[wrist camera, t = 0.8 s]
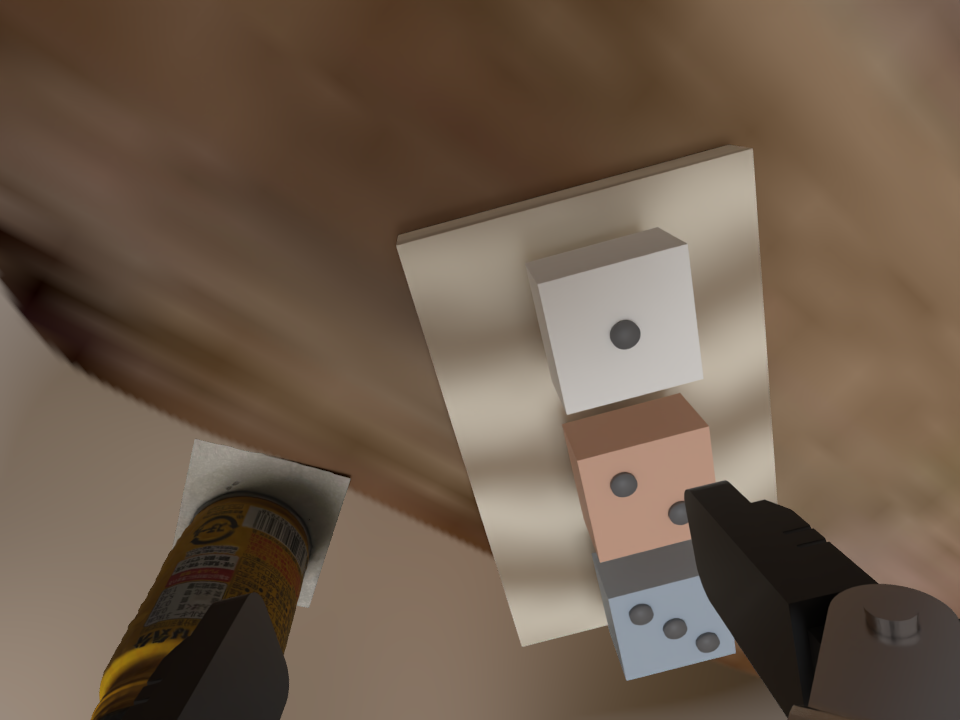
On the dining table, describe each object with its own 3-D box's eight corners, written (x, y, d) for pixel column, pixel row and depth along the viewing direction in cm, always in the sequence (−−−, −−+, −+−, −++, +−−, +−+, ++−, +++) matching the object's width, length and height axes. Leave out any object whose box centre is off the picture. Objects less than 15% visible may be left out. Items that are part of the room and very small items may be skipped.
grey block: (591, 553, 28) (609, 602, 25) (698, 525, 28) (728, 572, 25) (609, 631, 30) (628, 684, 27) (709, 605, 30) (737, 656, 27)
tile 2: (561, 424, 25) (578, 463, 23) (680, 392, 25) (711, 428, 23) (583, 519, 27) (601, 566, 25) (693, 490, 27) (723, 534, 25)
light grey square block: (524, 263, 23) (538, 285, 20) (657, 227, 22) (689, 245, 20) (552, 381, 25) (568, 417, 22) (674, 349, 24) (705, 381, 22)
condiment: (166, 575, 31) (27, 834, 20) (196, 436, 28) (51, 650, 17) (309, 604, 33) (251, 860, 22) (351, 474, 30) (308, 694, 19)
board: (398, 235, 26) (394, 255, 22) (728, 144, 25) (774, 151, 22) (516, 617, 34) (526, 673, 31) (763, 554, 34) (799, 603, 31)
